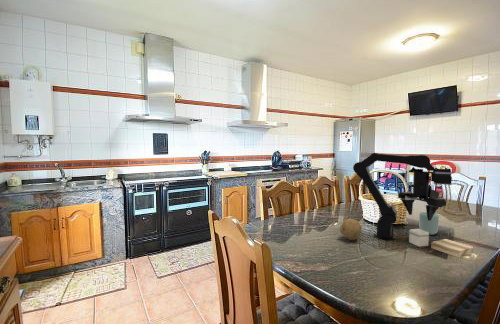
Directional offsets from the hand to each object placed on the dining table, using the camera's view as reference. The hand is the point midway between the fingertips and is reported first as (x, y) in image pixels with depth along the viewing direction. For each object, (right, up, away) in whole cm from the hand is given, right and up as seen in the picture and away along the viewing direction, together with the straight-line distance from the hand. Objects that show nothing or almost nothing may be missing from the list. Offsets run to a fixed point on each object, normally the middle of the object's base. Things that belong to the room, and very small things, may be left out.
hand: (419, 217), depth 108 cm
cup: (+14, -11, +14) cm, 23 cm away
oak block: (+9, -13, -7) cm, 17 cm away
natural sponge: (-29, -12, +5) cm, 32 cm away
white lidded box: (0, -12, 0) cm, 12 cm away
